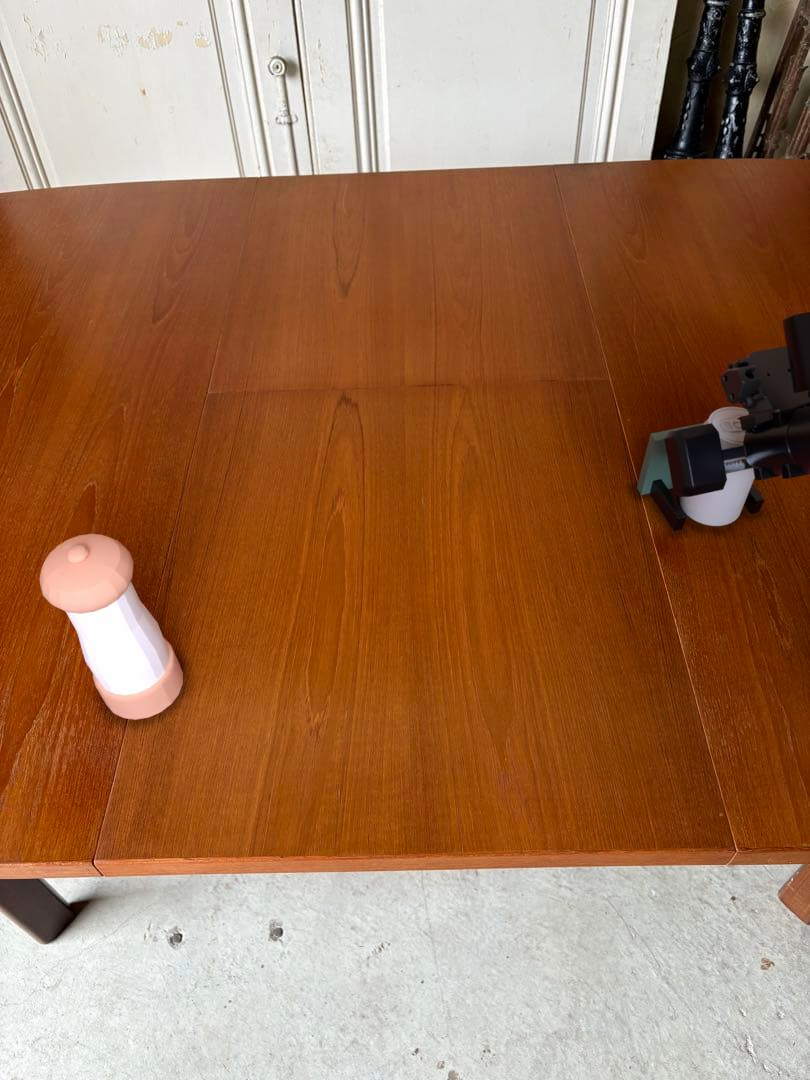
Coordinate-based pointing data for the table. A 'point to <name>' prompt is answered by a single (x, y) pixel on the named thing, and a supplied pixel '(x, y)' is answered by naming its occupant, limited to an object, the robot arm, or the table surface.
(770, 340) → the table surface
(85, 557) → the pepper shaker
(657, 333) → the table surface
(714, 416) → the beverage can
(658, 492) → the rack bay
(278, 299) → the table surface
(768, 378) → the robot arm
